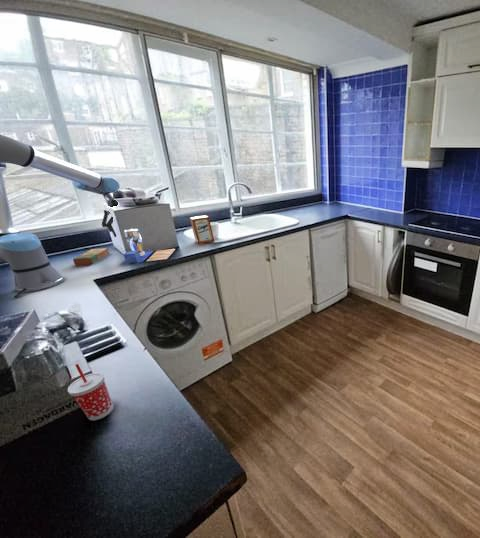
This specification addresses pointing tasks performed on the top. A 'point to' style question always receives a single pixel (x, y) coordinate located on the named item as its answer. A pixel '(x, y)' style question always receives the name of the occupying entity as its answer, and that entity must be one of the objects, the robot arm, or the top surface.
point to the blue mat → (142, 257)
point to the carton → (90, 257)
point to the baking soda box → (202, 229)
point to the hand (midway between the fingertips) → (130, 233)
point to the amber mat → (161, 254)
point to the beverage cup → (91, 395)
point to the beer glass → (134, 241)
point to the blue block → (132, 256)
